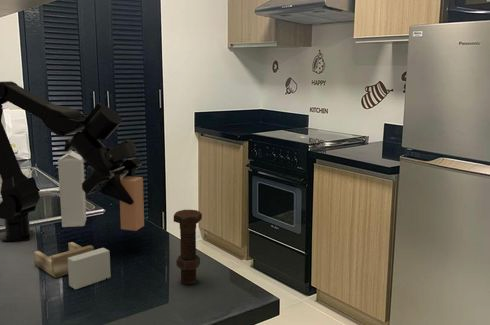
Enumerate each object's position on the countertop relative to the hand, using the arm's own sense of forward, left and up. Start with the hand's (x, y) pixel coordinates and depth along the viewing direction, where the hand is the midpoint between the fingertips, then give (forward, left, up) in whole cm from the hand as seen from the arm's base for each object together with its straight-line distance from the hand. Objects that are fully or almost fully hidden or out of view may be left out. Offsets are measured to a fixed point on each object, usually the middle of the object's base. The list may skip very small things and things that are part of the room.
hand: (137, 201), depth 112 cm
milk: (-26, -17, -13) cm, 34 cm away
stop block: (+14, -10, -13) cm, 22 cm away
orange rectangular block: (-1, -1, -7) cm, 7 cm away
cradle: (+5, -16, -13) cm, 21 cm away
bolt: (+19, +10, -13) cm, 25 cm away
